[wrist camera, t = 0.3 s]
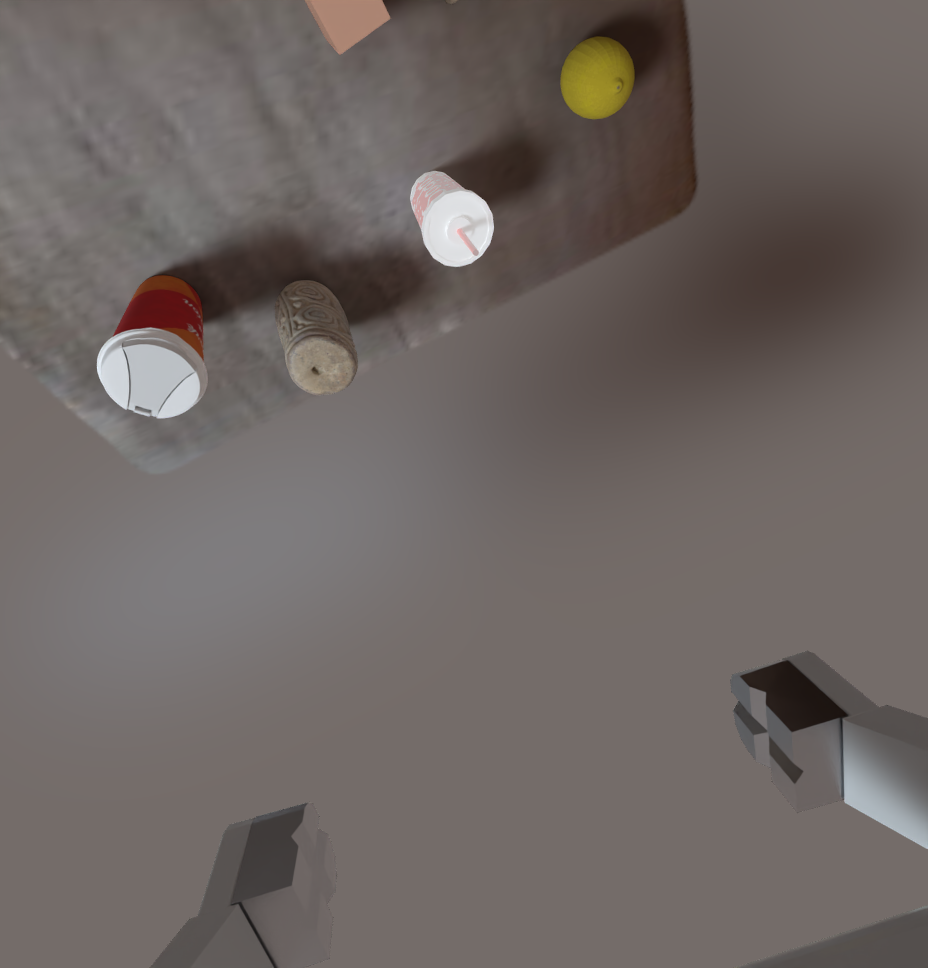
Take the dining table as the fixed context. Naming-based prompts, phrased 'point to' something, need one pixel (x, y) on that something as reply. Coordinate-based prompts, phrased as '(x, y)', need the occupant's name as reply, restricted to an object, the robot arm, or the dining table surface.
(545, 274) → the dining table surface
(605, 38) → the lemon
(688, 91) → the dining table surface
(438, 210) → the beverage cup
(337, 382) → the carving
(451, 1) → the t dock
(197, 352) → the paper cup
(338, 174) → the dining table surface
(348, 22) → the t block
